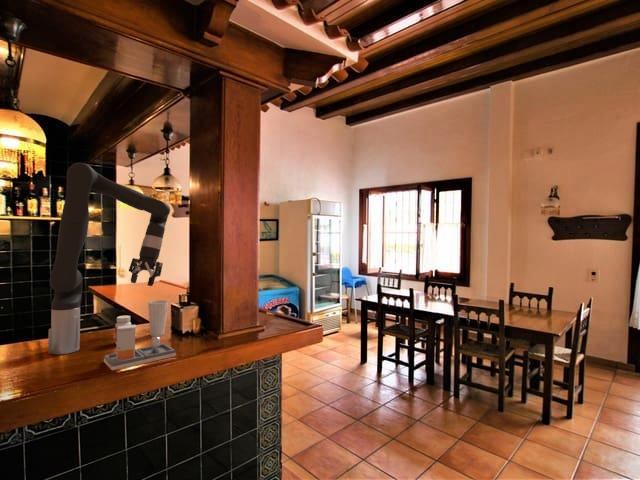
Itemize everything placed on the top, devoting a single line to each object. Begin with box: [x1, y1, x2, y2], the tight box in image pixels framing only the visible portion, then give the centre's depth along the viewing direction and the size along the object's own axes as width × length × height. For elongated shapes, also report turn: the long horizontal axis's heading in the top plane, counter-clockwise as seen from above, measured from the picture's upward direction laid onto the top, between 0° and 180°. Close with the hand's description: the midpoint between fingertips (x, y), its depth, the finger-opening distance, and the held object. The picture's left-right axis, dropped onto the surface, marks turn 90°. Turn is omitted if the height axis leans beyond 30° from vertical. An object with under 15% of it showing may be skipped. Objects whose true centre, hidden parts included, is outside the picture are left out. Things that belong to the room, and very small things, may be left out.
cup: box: [147, 299, 169, 337], centre depth 162 cm, size 8×8×16 cm
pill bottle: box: [114, 315, 132, 345], centre depth 150 cm, size 6×6×11 cm
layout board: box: [103, 336, 176, 371], centre depth 131 cm, size 22×11×7 cm, turn 135°
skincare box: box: [115, 324, 137, 361], centre depth 127 cm, size 6×4×12 cm
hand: (141, 284), depth 145 cm, fingers open, 8 cm apart
